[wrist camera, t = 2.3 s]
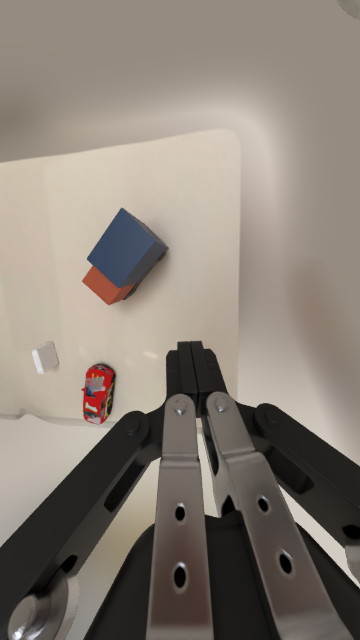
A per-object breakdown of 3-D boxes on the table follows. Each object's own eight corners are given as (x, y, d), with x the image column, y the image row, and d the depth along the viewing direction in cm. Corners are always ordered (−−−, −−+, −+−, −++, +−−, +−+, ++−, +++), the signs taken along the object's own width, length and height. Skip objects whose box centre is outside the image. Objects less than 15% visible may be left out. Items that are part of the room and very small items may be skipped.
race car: (92, 359, 36) (79, 369, 32) (118, 366, 36) (108, 378, 32) (87, 410, 40) (75, 425, 36) (110, 416, 40) (101, 432, 36)
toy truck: (145, 224, 28) (120, 206, 19) (170, 249, 28) (156, 241, 20) (105, 277, 31) (69, 282, 22) (128, 298, 31) (101, 310, 23)
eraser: (53, 363, 37) (38, 373, 34) (47, 341, 36) (30, 349, 33) (58, 363, 37) (44, 373, 34) (52, 341, 36) (36, 349, 32)
